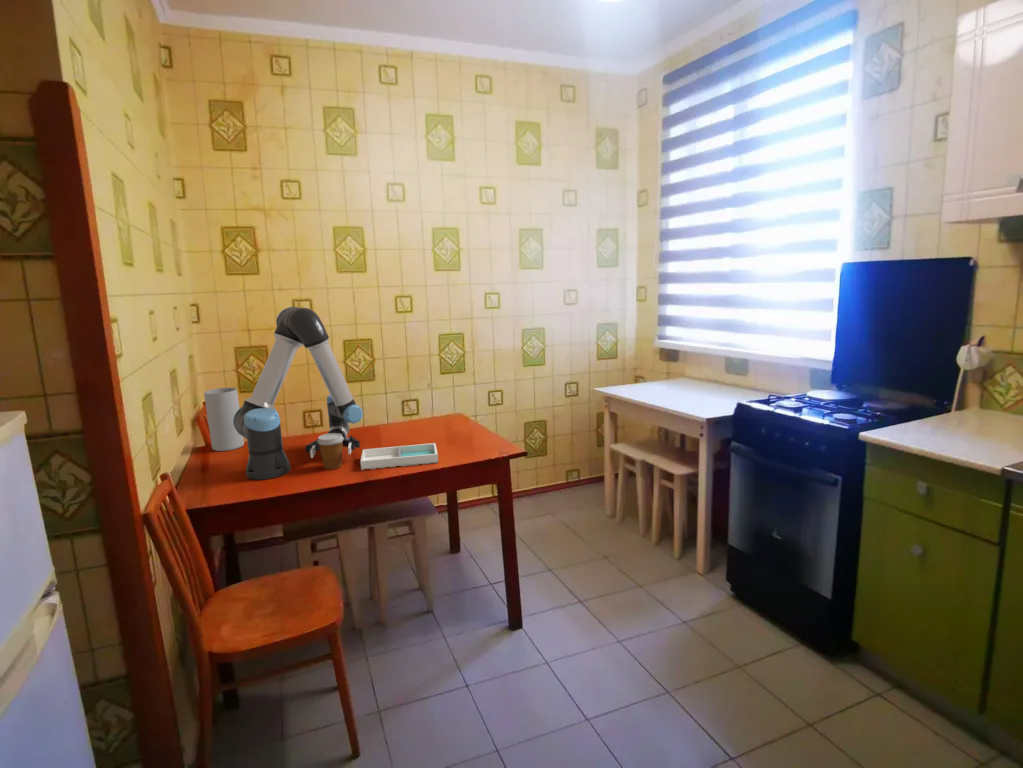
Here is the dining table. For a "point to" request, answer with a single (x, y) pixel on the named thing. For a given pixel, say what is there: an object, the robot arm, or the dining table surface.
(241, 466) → the dining table surface
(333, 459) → the disposable coffee cup
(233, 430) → the cylinder vase
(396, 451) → the divided tray
